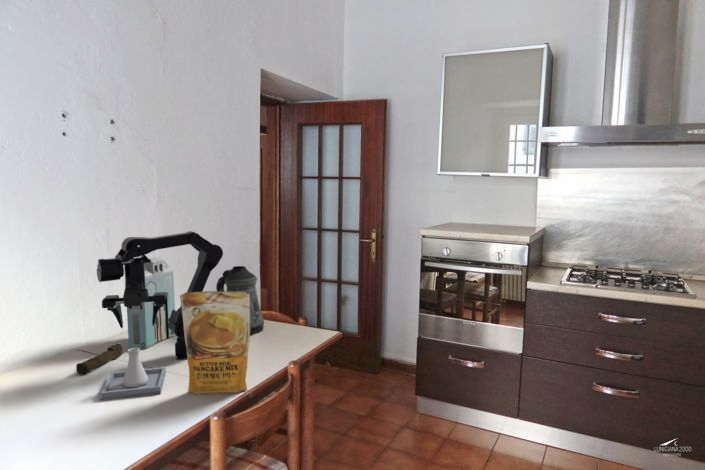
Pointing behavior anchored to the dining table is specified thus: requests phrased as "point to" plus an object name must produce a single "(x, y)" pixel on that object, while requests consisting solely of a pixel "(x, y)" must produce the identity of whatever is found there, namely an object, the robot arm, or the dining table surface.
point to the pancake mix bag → (217, 340)
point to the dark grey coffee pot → (246, 282)
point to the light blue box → (141, 316)
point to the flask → (134, 370)
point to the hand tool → (100, 359)
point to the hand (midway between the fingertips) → (137, 326)
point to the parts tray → (117, 390)
